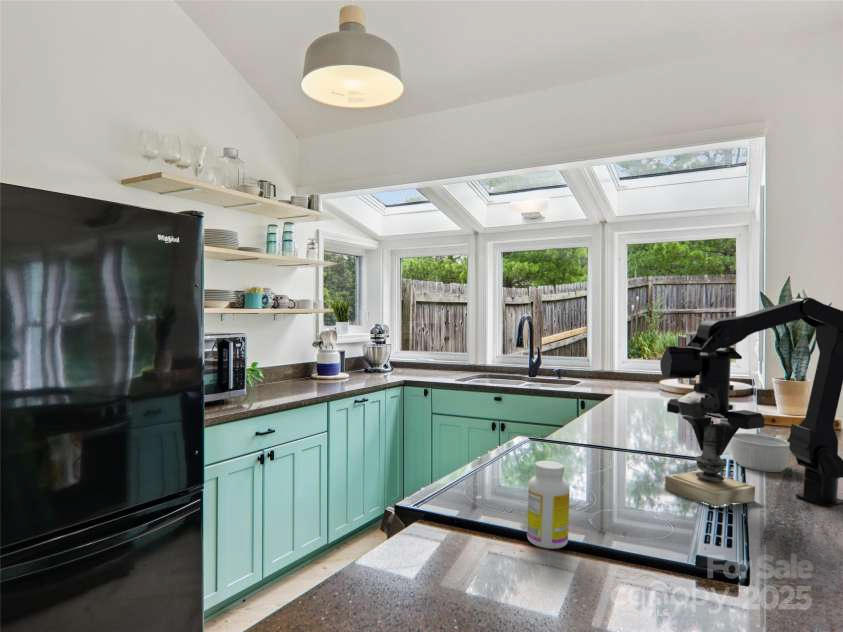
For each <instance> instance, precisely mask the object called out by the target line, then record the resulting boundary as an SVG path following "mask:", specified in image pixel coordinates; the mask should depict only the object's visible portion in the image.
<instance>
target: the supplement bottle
mask: <svg viewBox="0 0 843 632" xmlns="http://www.w3.org/2000/svg"><path fill="white" fill-rule="evenodd" d="M534 472H535V476H533V477H532V478H531V479H529V481H528V488H527V490H528V491H527V492H528V493H527V514H526V515H527V519H526V521H527V522H526V537H527V539H528V541H529V543H530V544H533V545H534V546H537V547H539V548H543V549H551V550H555V549H561V548H564V547H565V546H566V545H567V544H568V542H569V523H570V520H569V519H570V484H569V483H568V482H567V480H566V479H564V478H563V475H564V474H565V465H564V464H562V463H561V462H557V461H552V460H538V461H536V462H535V463H534Z"/></svg>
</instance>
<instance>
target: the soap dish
mask: <svg viewBox="0 0 843 632" xmlns="http://www.w3.org/2000/svg"><path fill="white" fill-rule="evenodd" d="M699 472H702V470H700V469H699V470H695V471H694V470H693V471H687V472H681V473H676V474H668V475H665V483H664V490H665V491H667V492H670V493H673V494H676V495H679V496H681V497H684V498H686V499H689V500H691V501H694V502H696V501H697V502H696V503H699V502H704V503H707V504H710V505H713V506H721V505H724V504H727V505H729V504H732V503H742V504H748V503H752V502H755V496H756V486H754V485H752V484H748V483H745V482H742V481H739V480H736V479H733V478H729V477H726V476H723V475H721V476H722V477H724V480H723V481H711V480H705V479H702V478H699V477H697V476H696V473H699ZM742 504H741V505H742Z"/></svg>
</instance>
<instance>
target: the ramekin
mask: <svg viewBox="0 0 843 632" xmlns="http://www.w3.org/2000/svg"><path fill="white" fill-rule="evenodd" d="M787 440H788V439H784V438H780V437H775V436H771V435H766V434H758V433H748V432H736V433H735V435H734V436H733V437H732V439H731V440H730V442H731V452H732V458H733V461H734V462H735V463H736V462H737V463H738V464H739V465H738V464H737V463H736V464H737V465H738V466H740V467H743V468H746V469H749V470H754V471H759V472H769V473H781V472H783V471H784V470H787V466H788V465H789V458H790V454H791V451H790V449H789V442H787Z"/></svg>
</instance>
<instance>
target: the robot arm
mask: <svg viewBox="0 0 843 632" xmlns="http://www.w3.org/2000/svg"><path fill="white" fill-rule="evenodd" d="M798 320H801V321H802V322H803V323H804V324H806V325H807V326H809V327H811V328H813V329H815V336H814V337H815V338H814V339H815V342H816V344H817V348H818V351H819V354H818V355H819V356H818V360H817V364H816V369H815V373H814V378H813V382H812V386H811V391H810V395H809V400H808V405H807V410H806V412H805V413H806V414H805V416H804V419H803V420H802V421H801V422H800V423H799V424H798V425H797V424H795V423H792V424H791V425H790V429H789V430H790V432H789V436H788V438H787V439H786V440H787V442H789V449H790V453H791V454H792V455H793V456H794V457H795V461H796V463H797V466H801V467H803V468H804V479H803V490H802V492H800V493H799V492H798V493H795V497H796V498H798V499H803V500H805V501H808V502H812V503H815V504H817V505H820V506H824V507H827V508H828V507H829V508H830V507H833V506H834V507H835V506H838V505H842V504H843V499H841V498H838V492H839V489H838V488H839V486H838V485H839V479H840V478H843V459H842V457H841V456H840V455H839V438H838V435H837V433H836V429H835V419H836V415H837V410H838V408H839V407H838V406H839V402H840V398H841V397H840V396H841V392H842V389H843V310H841V309H839V308H836V307H833V306H830V305H828V304H825V303H823V302H820V301H818V300H817V299H815V298H813V297H794V298H793V299H791V300H789V301H786V302H782V303H779V304H776V305H772V306H769V307H766V308H762V309H759V310H756V311H753V312H750V313H746V314H743V315H739V316H738V315H737V316H731V317H719V318H712V319H705V320H704V321H701V323H699V325H698V327H697V329H696V333H695V334H694V336H693V337H692V338H691V339H690V341H689V342H688V343H687V344H686V345H685V346H675V345H666V346H665V351H664V352H663V354H662V357H661V359H660V365H659V367H660V372H661V375H662V377H663V378H665V379H689V380H694V379H695V378H696V377H697V376H698V382H695V383H694V385H693V390H692V392H691V391H690V392H688V393H686V394H684V395H683V396H681V397H680V398H671V399H669V401H668V402H667V404H666V411H667V412H668V413H672V414H677V415H678V414H680V415H681V416H682V418H683V420H686V421H687V422H688V423H689V424H690V425H691V427H692V429H693V432H694V434H695V437H696V441H697V443H698V446H699V449H700V451H701V452H703V442H702V440H704V428H705V426H706V425H709V424H711V421H712V418H715V419H720V423H713V424H714V426H715V428H716V430H717V445H716V451H717V456H720V457H721V456H723V454H724V452H725V451H726V450H727V447H728V446H729V444H730V442H731V439H732V437H733V436H734V435H735V433H738V430H739V429H742V430H754V429H761V428H762V429H764V428H765V417H764V416H763V414H762V413H761V412H756V411H751V410H746V409H742V410H733V409H734V404H730V391H734V384H732V385H731V363H732V360H741V359H743V356H742V355H741V354H740V353H739V352H738V351H737V350H736V349H735V347H732V346H735V345H737V344H738V343H739V342H742V341H744V339H747V337H749V336H751V335H752V334H754V333H759V332H761V331H765V330H768V329H772V328H775V327H777V326H781V325H784V324H788V323H791V322H794V321H798ZM720 349H721V350H720ZM722 349H723V350H722Z"/></svg>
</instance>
